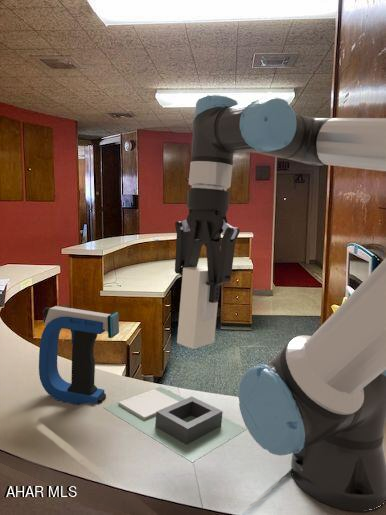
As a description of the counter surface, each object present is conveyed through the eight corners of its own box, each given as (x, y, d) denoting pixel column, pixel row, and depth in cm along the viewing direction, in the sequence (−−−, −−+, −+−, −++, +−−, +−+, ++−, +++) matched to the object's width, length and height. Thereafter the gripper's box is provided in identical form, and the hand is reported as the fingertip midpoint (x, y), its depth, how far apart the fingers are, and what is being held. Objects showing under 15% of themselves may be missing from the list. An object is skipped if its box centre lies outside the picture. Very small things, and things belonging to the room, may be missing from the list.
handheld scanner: (107, 411, 84) (113, 316, 82) (35, 398, 87) (40, 306, 85) (115, 402, 89) (122, 311, 87) (47, 389, 92) (51, 302, 90)
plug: (214, 342, 78) (220, 269, 77) (193, 348, 74) (199, 271, 72) (198, 337, 81) (204, 266, 79) (176, 342, 76) (183, 267, 75)
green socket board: (246, 433, 80) (248, 414, 80) (191, 468, 68) (193, 445, 68) (160, 390, 96) (161, 374, 95) (103, 412, 84) (104, 393, 83)
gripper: (261, 192, 71) (247, 324, 74) (188, 189, 82) (178, 304, 85) (235, 188, 66) (222, 331, 68) (160, 185, 77) (151, 308, 79)
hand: (198, 315), depth 77 cm, fingers closed on plug, 4 cm apart
